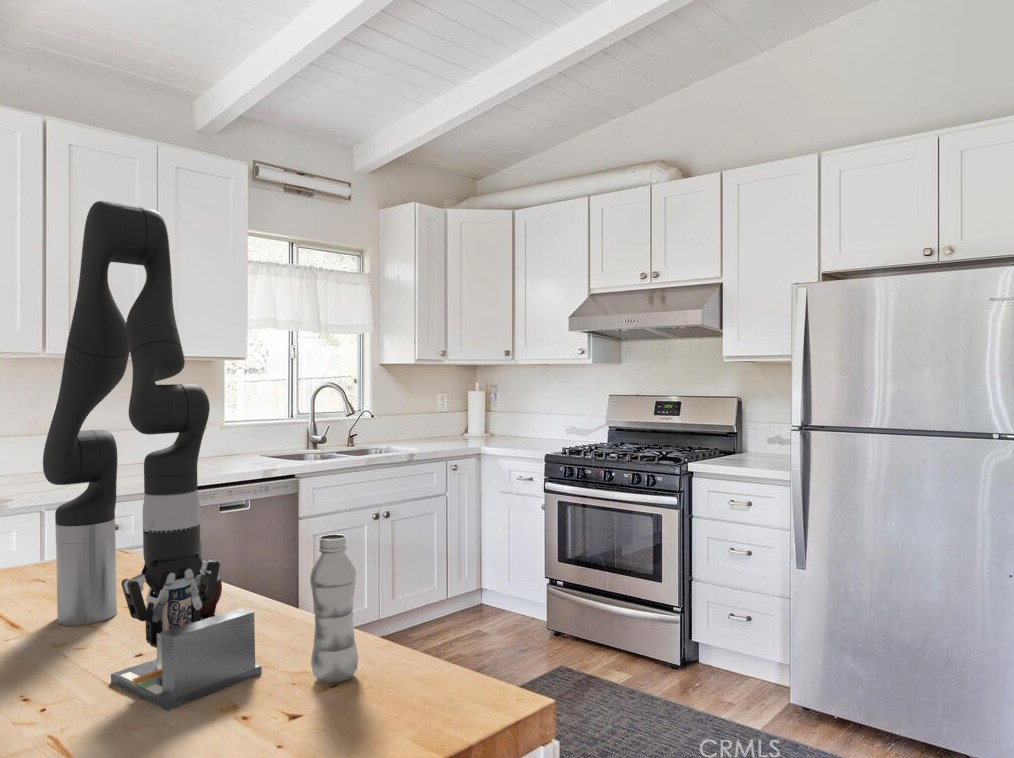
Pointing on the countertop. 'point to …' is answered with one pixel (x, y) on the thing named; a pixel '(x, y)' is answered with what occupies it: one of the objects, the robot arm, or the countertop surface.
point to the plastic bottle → (333, 612)
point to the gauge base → (197, 660)
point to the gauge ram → (159, 661)
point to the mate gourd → (210, 607)
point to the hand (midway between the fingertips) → (173, 639)
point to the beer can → (177, 605)
